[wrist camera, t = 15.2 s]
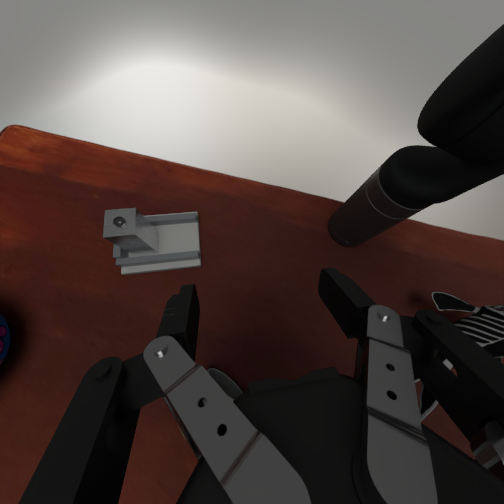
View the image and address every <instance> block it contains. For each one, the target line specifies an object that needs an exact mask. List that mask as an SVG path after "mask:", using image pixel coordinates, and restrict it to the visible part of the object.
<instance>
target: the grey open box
mask: <svg viewBox="0 0 504 504" xmlns="http://www.w3.org/2000/svg"><path fill="white" fill-rule="evenodd" d="M144 217H145V218H146V219H147V220H148V221H149V222H150V223H151V224H152V225H153V227H154V228H155V229H156V230H157V231H158V232H159V253H153V254H144V255H133V254H131V253H129V252H128V251H126V250H124V249H122V248H121V247H119V246H117V245H115V244H114V250H113V258H116V265H117V266H120V267H122V270H121V274H123V275H129V274H138V273H147V272H156V271H165V270H174V269H183V268H192V267H201V252H200V237H199V221H198V213H197V212H188V213H175V214H163V215H150V216H144Z"/></svg>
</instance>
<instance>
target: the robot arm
mask: <svg viewBox="0 0 504 504" xmlns="http://www.w3.org/2000/svg"><path fill="white" fill-rule="evenodd" d="M417 128H418V131H419V133H420V135H421V136H422V137H423V138H424V139H426V140H427V141H428V142H429V143H431V144H432V145H434V146H437V147H431V146H419V145H417V146H407V147H404V148H401V149H399V150H398V151H396V152H395V153H393V154H392V155H391V156H390V157H389V158H388V159H387V160H386V161H385V162H384V163H383V164H382V165H381V166H380V167H379V168H378V169H377V170H376V171H375V172H374V173H373V174H372V175H371V176H370V177H369V178H368V180H366V181H365V183H364V184H363V185H362V186H361V187H360V188H359V189H358V190H357V191H356V192H355V193H354V194H353V195H352V196H351V197H350V198H349V199H348V200H347V201H346V202H345V203H344V204H343V205H342V206H341V207H340V208H339V209H338V210H337V211H336V212H335V213H334V214H333V215H332V216H331V217H330V219H329V222H328V228H329V232H330V234H331V236H332V237H333V239H334V240H335V241H336V242H338V243H339V244H341V245H343V246H347V247H354V246H357V245H360V244H362V243H363V242H365V241H367V240H369V239H371V238H373V237H374V236H376V235H378V234H380V233H382V232H383V231H385V230H387V229H389V228H391V227H392V226H394V225H396V224H398V223H400V222H401V221H403V220H405V219H407V218H409V217H410V216H412V215H414V214H416V213H417V212H419V211H421V210H423V209H425V208H427V207H428V206H431V205H432V204H435V203H441V202H444V201H447V200H450V199H452V198H454V197H456V196H458V195H460V194H462V193H464V192H466V191H468V190H471V189H472V188H475V187H477V186H478V185H481V184H483V183H485V182H487V181H490V180H492V179H494V178H496V177H498V176H500V175H503V174H504V24H503V25H502V26H501V27H500V28H499V29H497V30H496V31H495V32H494V33H493V34H492V35H491V36H490V37H489V38H487V39H486V40H485V41H484V42H483V43H482V44H481V45H480V46H479V47H477V48H476V49H475V50H474V51H473V52H472V53H471V54H470V55H469V56H468V57H467V58H466V59H464V61H462V62H461V63H460V64H459V66H457V67H456V69H455V70H454V71H452V72H451V74H450V75H449V76H448V77H447V78H446V79H445V80H444V81H443V82H442V84H440V86H439V87H438V88H437V89H436V90H435V91H434V93H433V94H432V96H431V97H430V98H429V100H428V101H427V102H426V104H425V106H424V107H423V109H422V111H421V113H420V116H419V119H418V124H417ZM318 292H319V295H320V297H321V299H322V301H323V302H324V303H325V305H326V306H327V308H328V309H329V311H330V312H331V314H332V315H333V317H334V318H335V320H336V321H337V323H338V324H339V326H340V327H341V329H342V330H343V332H344V333H345V335H346V336H347V338H348V339H351V338H357V339H358V344H357V352H356V362H355V372H354V378H352V377H349V376H346V375H342V374H338V372H337V370H336V368H335V367H330V368H325V369H319V370H314V371H312V372H310V373H308V374H306V375H304V376H302V377H300V378H299V379H297V380H283V379H272V378H269V379H264V380H258V381H253V382H248V389H249V390H247V391H245V392H243V393H242V394H241V395H239V396H238V397H237V398H236V399H235V400H234V401H233V402H232V400H231V399H230V398H229V397H228V396H227V395H226V393H225V392H224V391H223V390H222V389H221V387H220V386H219V385H218V384H217V383H216V382H215V380H214V379H213V378H212V377H211V376H210V375H209V373H208V372H207V371H206V370H205V369H204V368H203V367H202V366H201V365H200V364H199V365H196V364H195V354H196V345H197V335H198V325H199V316H200V306H199V300H198V296H197V291H196V287H195V284H190V285H182V286H181V289H180V293H179V294H178V295H173V296H172V297H171V298H170V299H169V300H168V302H167V304H166V308H165V311H164V314H163V317H162V320H161V323H160V327H159V330H158V333H157V336H156V339H155V340H153V341H152V342H151V343H149V345H148V346H147V347H146V349H145V351H144V352H143V353H141V354H139V355H137V356H135V357H132V358H130V359H128V360H125V361H123V362H122V361H121V359H120V358H118V357H108V358H105V359H103V360H101V361H99V362H97V363H96V364H95V365H93V366H92V367H91V368H90V369H89V370H88V371H87V372H86V374H85V375H84V377H83V379H82V381H81V383H80V385H79V387H78V389H77V391H76V393H75V395H74V397H73V398H72V400H71V402H70V404H69V406H68V408H67V410H66V412H65V414H64V416H63V418H62V420H61V422H60V424H59V426H58V428H57V430H56V432H55V434H54V435H53V437H52V439H51V441H50V443H49V445H48V447H47V449H46V451H45V453H44V455H43V457H42V459H41V461H40V463H39V465H38V467H37V469H36V471H35V472H34V474H33V476H32V478H31V480H30V482H29V484H28V486H27V488H26V490H25V492H24V494H23V496H22V498H21V500H20V502H19V504H118V502H119V498H120V494H121V489H122V485H123V481H124V477H125V472H126V468H127V464H128V460H129V456H130V451H131V447H132V443H133V439H134V434H135V430H136V426H137V422H138V417H139V413H140V409H141V407H142V406H144V405H146V404H148V403H150V402H152V401H154V400H156V399H158V398H160V397H163V399H164V401H165V402H166V404H167V406H168V408H169V409H170V411H171V413H172V415H173V416H174V418H175V420H176V421H177V423H178V425H179V427H180V429H181V430H182V432H183V434H184V436H185V438H186V440H187V442H188V443H189V445H190V447H191V449H192V450H193V452H194V454H195V456H196V457H197V459H198V461H199V462H198V463H197V465H196V467H195V469H194V471H193V473H192V475H191V477H190V478H189V480H188V482H187V484H186V486H185V488H184V490H183V492H182V493H181V495H180V497H179V499H178V501H177V503H176V504H504V365H503V364H502V363H501V362H500V361H498V360H497V359H496V358H495V357H494V356H492V355H491V354H490V353H489V352H487V351H486V350H485V349H484V348H482V347H481V346H480V345H479V344H478V343H476V342H475V341H474V340H473V339H471V338H470V337H469V336H468V335H466V334H465V333H464V332H463V331H462V330H460V329H459V328H458V327H457V326H455V325H454V324H453V323H452V322H451V321H449V320H448V319H447V318H445V317H444V316H442V315H441V314H439V313H436V312H434V311H430V310H419V311H417V313H416V315H415V317H410V316H400V315H398V314H397V313H396V312H395V311H394V310H392V309H390V308H388V307H386V306H382V305H377V304H376V303H375V302H374V301H373V300H372V299H371V298H370V297H369V296H368V295H367V294H366V293H365V292H364V291H363V290H362V289H361V288H360V287H359V286H358V285H356V283H355V282H354V281H353V280H352V279H351V278H349V277H347V276H346V275H344V274H340V273H339V272H338V271H337V269H336V268H326V269H322V270H321V273H320V280H319V286H318ZM438 351H439V352H440V353H441V354H442V355H443V356H444V357H445V358H446V359H447V360H448V361H449V362H450V363H451V364H452V365H453V366H454V368H455V369H456V371H457V377H456V376H455V375H454V373H453V372H452V371H451V370H450V369H449V368H448V367H447V366H446V365H445V364H444V363H443V362H442V361H441V360H440V359H439V358H438V357H437V356H436V354H437V353H438ZM413 372H414V373H415V374H416V375H417V377H418V378H419V379H420V380H421V382H422V383H423V384H424V385H425V387H426V388H427V389H428V390H429V392H430V393H431V394H432V395H433V397H434V398H435V399H436V400H437V402H438V403H439V404H440V405H441V407H442V408H443V409H444V410H445V412H446V413H447V414H448V415H449V417H450V418H451V419H452V420H453V422H454V423H455V424H456V425H457V427H458V428H459V429H460V430H461V432H462V433H463V434H464V435H465V437H466V438H467V439H468V440H469V442H470V447H471V450H472V452H473V454H474V456H475V458H476V459H475V460H474V459H472V458H471V457H469V456H468V455H466V454H465V453H463V452H462V451H461V450H459V449H458V448H456V447H455V446H453V445H452V444H451V443H449V442H448V441H446V440H445V439H443V438H442V437H440V436H439V435H438V434H436V433H435V432H433V431H432V430H430V429H429V428H428V427H426V426H425V425H423V424H422V423H421V422H420V415H419V408H418V401H417V395H416V388H415V381H414V375H413Z"/></svg>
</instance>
